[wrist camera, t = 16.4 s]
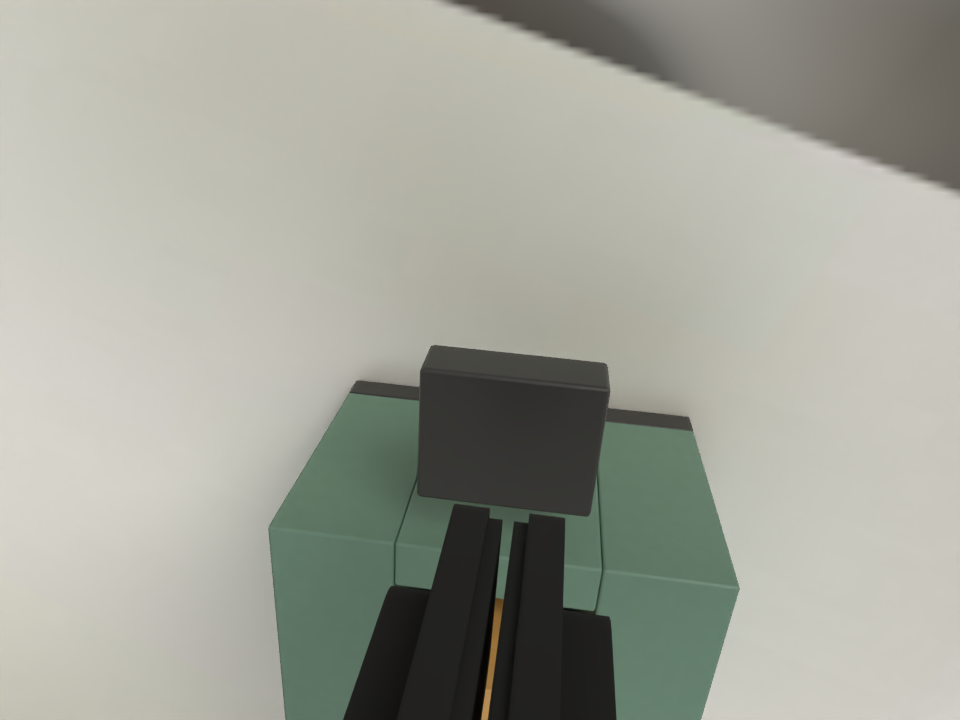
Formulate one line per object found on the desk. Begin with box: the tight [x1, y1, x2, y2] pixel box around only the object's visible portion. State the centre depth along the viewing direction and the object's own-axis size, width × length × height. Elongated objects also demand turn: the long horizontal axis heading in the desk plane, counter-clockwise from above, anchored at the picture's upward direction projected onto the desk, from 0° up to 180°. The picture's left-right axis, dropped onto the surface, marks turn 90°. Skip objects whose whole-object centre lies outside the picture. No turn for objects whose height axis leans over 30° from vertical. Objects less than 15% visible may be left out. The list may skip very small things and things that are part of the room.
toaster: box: [268, 381, 739, 720], centre depth 20 cm, size 12×10×7 cm
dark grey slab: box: [417, 345, 610, 517], centre depth 14 cm, size 3×4×1 cm
